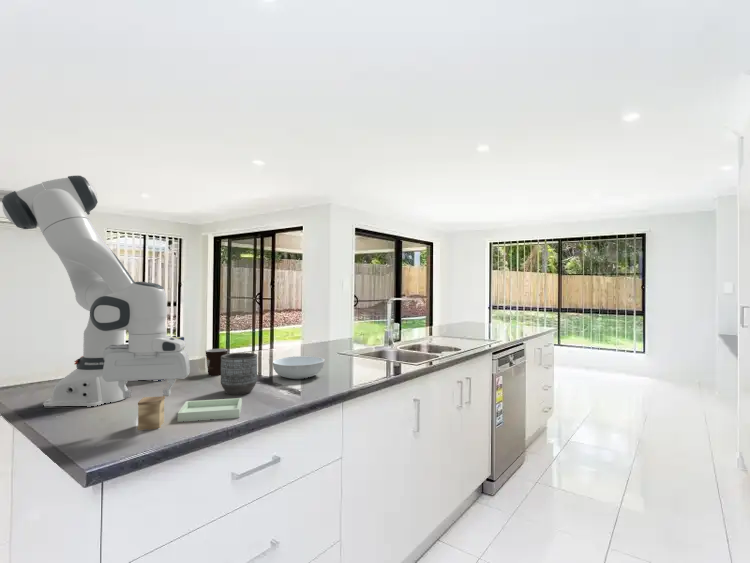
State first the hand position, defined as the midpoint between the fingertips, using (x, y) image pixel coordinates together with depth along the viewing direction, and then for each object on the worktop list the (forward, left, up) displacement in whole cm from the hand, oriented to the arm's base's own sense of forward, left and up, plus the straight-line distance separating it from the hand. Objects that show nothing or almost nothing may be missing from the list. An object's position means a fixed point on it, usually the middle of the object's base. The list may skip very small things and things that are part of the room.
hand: (147, 396), depth 109 cm
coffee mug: (+10, +64, -8) cm, 65 cm away
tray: (+15, +9, -8) cm, 19 cm away
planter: (+21, +33, -8) cm, 40 cm away
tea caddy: (+1, +1, -8) cm, 8 cm away
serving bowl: (+43, +53, -8) cm, 68 cm away
